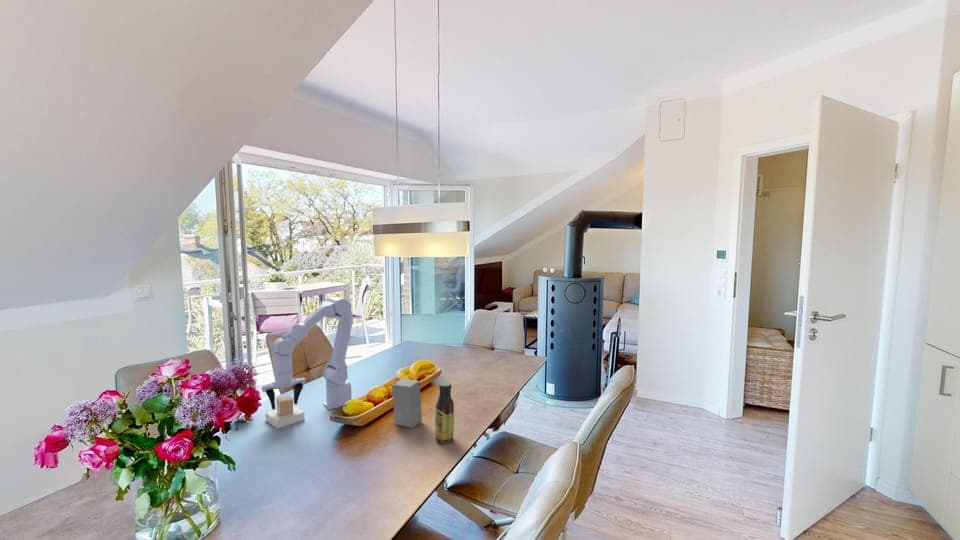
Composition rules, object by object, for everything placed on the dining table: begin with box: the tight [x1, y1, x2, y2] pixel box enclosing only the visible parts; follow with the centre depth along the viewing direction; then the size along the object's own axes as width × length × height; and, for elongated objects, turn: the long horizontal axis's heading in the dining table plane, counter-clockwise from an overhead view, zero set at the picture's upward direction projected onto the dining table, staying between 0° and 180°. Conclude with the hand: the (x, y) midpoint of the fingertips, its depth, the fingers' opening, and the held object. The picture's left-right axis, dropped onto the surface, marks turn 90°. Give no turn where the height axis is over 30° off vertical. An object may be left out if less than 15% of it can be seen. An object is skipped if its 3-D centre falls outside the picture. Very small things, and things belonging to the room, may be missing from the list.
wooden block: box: [276, 394, 294, 416], centre depth 153 cm, size 5×5×6 cm
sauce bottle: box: [434, 381, 455, 444], centre depth 139 cm, size 6×6×20 cm
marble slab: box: [265, 404, 305, 430], centre depth 154 cm, size 10×10×3 cm
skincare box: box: [391, 378, 423, 429], centre depth 152 cm, size 8×7×16 cm
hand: (284, 406), depth 154 cm, fingers open, 7 cm apart
